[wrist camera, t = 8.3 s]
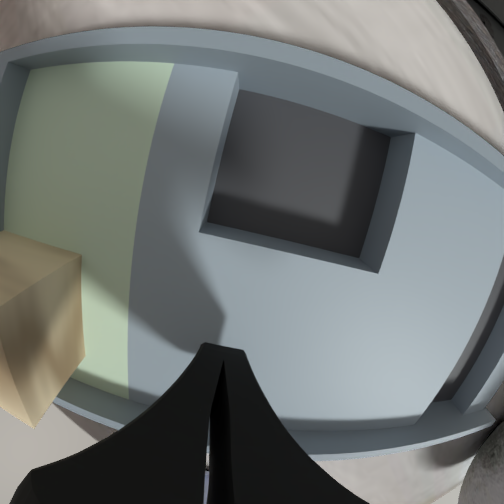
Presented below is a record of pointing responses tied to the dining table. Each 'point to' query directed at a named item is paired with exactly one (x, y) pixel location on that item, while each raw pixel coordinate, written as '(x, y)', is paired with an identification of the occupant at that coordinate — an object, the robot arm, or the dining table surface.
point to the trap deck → (261, 230)
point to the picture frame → (482, 35)
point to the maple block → (37, 324)
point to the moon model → (486, 473)
